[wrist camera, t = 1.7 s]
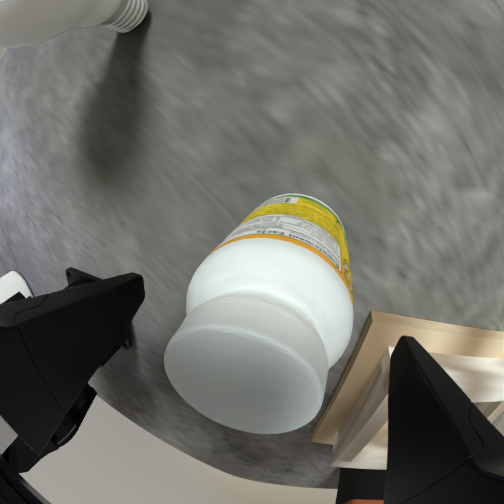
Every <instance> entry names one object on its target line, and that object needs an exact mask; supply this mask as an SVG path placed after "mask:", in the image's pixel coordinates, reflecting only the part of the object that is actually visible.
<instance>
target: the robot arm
mask: <svg viewBox="0 0 504 504" xmlns="http://www.w3.org/2000/svg"><path fill="white" fill-rule="evenodd" d="M66 277H67V281H68V285H69V286H67V287H66V288H64V289H63V290H61V291H57V292H53V293H50V294H45V295H41V296H37V297H33V298H32V297H31V296H29V297H27V298H25V296H24V295H23V294H22V293H21V292H20V291H19V292H17V293H16V294H14V295H13V296H12V297H10V298H9V299H7V300H6V301H4V302H3V303H1V304H0V504H51V503H50V502H49V501H47V500H46V499H45V498H44V497H43V496H42V495H41V494H39V493H38V492H37V491H36V490H35V489H34V488H33V487H32V486H30V484H29V483H28V482H27V481H25V479H24V478H23V477H22V476H21V475H20V474H19V473H23V472H28V471H29V470H30V469H31V468H32V467H33V466H34V465H35V464H36V463H37V462H38V461H39V460H40V459H42V458H43V457H44V456H46V455H47V454H49V453H50V452H53V451H55V450H57V449H59V447H61V446H63V445H65V444H66V443H67V442H69V441H70V440H71V439H72V438H73V436H74V435H75V433H76V432H77V431H78V429H79V427H80V425H81V423H82V421H83V419H84V417H85V415H86V413H87V411H88V409H89V408H90V406H91V404H92V402H93V400H94V398H95V396H96V395H97V392H96V391H95V390H94V388H93V387H91V386H90V385H89V384H88V381H89V380H90V378H91V377H92V376H93V374H94V373H95V371H96V370H97V369H98V367H99V368H101V367H102V366H103V365H104V364H105V363H106V362H107V361H108V360H109V359H110V358H111V357H112V356H113V355H114V354H115V352H116V351H117V350H118V349H119V348H120V347H122V348H124V349H126V350H129V349H130V348H131V347H132V342H131V338H130V333H129V328H128V325H129V324H130V322H131V320H132V319H133V317H134V316H135V314H136V312H137V311H138V309H139V307H140V306H141V304H142V303H143V301H144V298H145V290H144V281H143V277H142V276H141V275H140V274H136V273H128V274H124V275H120V276H116V277H112V278H108V279H104V280H103V279H100V278H97V277H95V276H92V275H89V274H87V273H84V272H82V271H79V270H77V269H74V268H71V267H69V268H68V269H66ZM383 504H504V436H503V435H502V434H501V433H500V432H499V431H498V430H497V429H496V428H495V427H494V426H493V425H492V424H491V422H490V421H489V420H488V419H487V418H486V417H485V416H484V415H483V414H482V412H481V411H480V410H479V409H478V408H477V407H476V405H475V404H474V403H473V402H471V400H470V398H469V397H468V396H467V395H466V394H465V393H464V391H463V390H462V389H461V388H460V387H459V386H458V385H457V384H456V382H455V381H454V380H453V379H452V378H451V377H450V376H449V375H448V373H447V372H446V371H445V370H444V369H443V368H442V367H441V366H440V365H439V364H438V362H437V361H436V360H435V359H434V358H433V357H432V356H431V355H430V354H429V353H428V352H427V351H426V350H425V349H424V348H423V346H422V345H421V344H420V343H419V342H418V341H417V340H416V339H415V338H414V337H412V336H406V335H403V336H401V337H400V338H399V340H398V342H397V344H396V346H395V348H394V350H393V352H392V354H391V358H390V373H389V388H388V450H387V469H386V482H385V493H384V502H383Z"/></svg>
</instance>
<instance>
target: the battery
mask: <svg viewBox="0 0 504 504" xmlns="http://www.w3.org/2000/svg"><path fill="white" fill-rule="evenodd" d="M385 482H386V470H383V469H358V468H345V467H341V471H340V478H339V485H338V491H337V498H336V504H383V502H384V493H385Z"/></svg>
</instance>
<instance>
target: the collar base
mask: <svg viewBox="0 0 504 504" xmlns="http://www.w3.org/2000/svg"><path fill="white" fill-rule="evenodd" d="M403 335H406V336H412V337H414V338H415V339H416V340H417V341H418V342H419V343H420V344H421V345H422V346H423V348H424V349H425V350H426V351H427V352H428V353H429V354H430V355H431V356H432V357H433V358H434V359H435V360H436V361H437V362H438V364H439V365H440V366H441V367H442V368H443V369H444V370H445V371H446V372H447V373H448V375H449V376H450V377H451V378H452V379H453V380H454V381H455V382H456V384H457V385H458V386H459V387H460V388H461V389H462V390H463V391H464V393H465V394H466V395H467V396H468V397H469V398H470V400H471V402H473V403H474V404H475V405H476V407H477V408H478V409H479V410H480V411H481V412H482V414H483V415H484V416H485V417H486V418H487V419H488V420H489V421H490V422H491V423H492V422H493V421H494V420H495V419H496V418H497V417H498V416H499V415H500V414H501V413H502V412H503V410H504V332H501V331H494V330H486V329H480V328H473V327H466V326H460V325H453V324H447V323H441V322H435V321H429V320H423V319H417V318H411V317H405V316H400V315H394V314H389V313H383V312H378V311H373V310H371V312H370V315H369V317H368V320H367V322H366V325H365V327H364V330H363V332H362V335H361V337H360V339H359V342H358V344H357V346H356V349H355V351H354V353H353V355H352V358H351V360H350V362H349V364H348V366H347V368H346V371H345V373H344V375H343V377H342V379H341V381H340V383H339V385H338V387H337V389H336V391H335V393H334V395H333V397H332V399H331V401H330V403H329V404H328V406H327V408H326V410H325V412H324V414H323V415H322V417H321V419H320V421H319V423H318V424H317V426H316V428H315V430H314V431H313V434H312V439H311V442H317V443H323V444H331V445H333V450H332V457H331V464H330V466H335V467H345V468H358V469H383V470H386V469H387V450H388V388H389V373H390V358H391V354H392V352H393V350H394V348H395V346H396V344H397V342H398V340H399V338H400V337H401V336H403Z"/></svg>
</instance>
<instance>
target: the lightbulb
mask: <svg viewBox="0 0 504 504" xmlns="http://www.w3.org/2000/svg"><path fill="white" fill-rule="evenodd" d="M147 11H148V2H147V0H0V47H2V48H7V49H19V48H26V47H30V46H34V45H37V44H40V43H42V42H45V41H47V40H49V39H51V38H53V37H55V36H57V35H59V34H61V33H63V32H65V31H67V30H70V29H73V28H88V27H93V26H100V27H103V28H107V29H111V30H115V31H117V32H121V33H124V32H128V31H131V30H132V29H134V28H135V27H137V26H138V25H139V24H140V23H141V22H142V20H143V19H144V17H145V16H146V13H147Z"/></svg>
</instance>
